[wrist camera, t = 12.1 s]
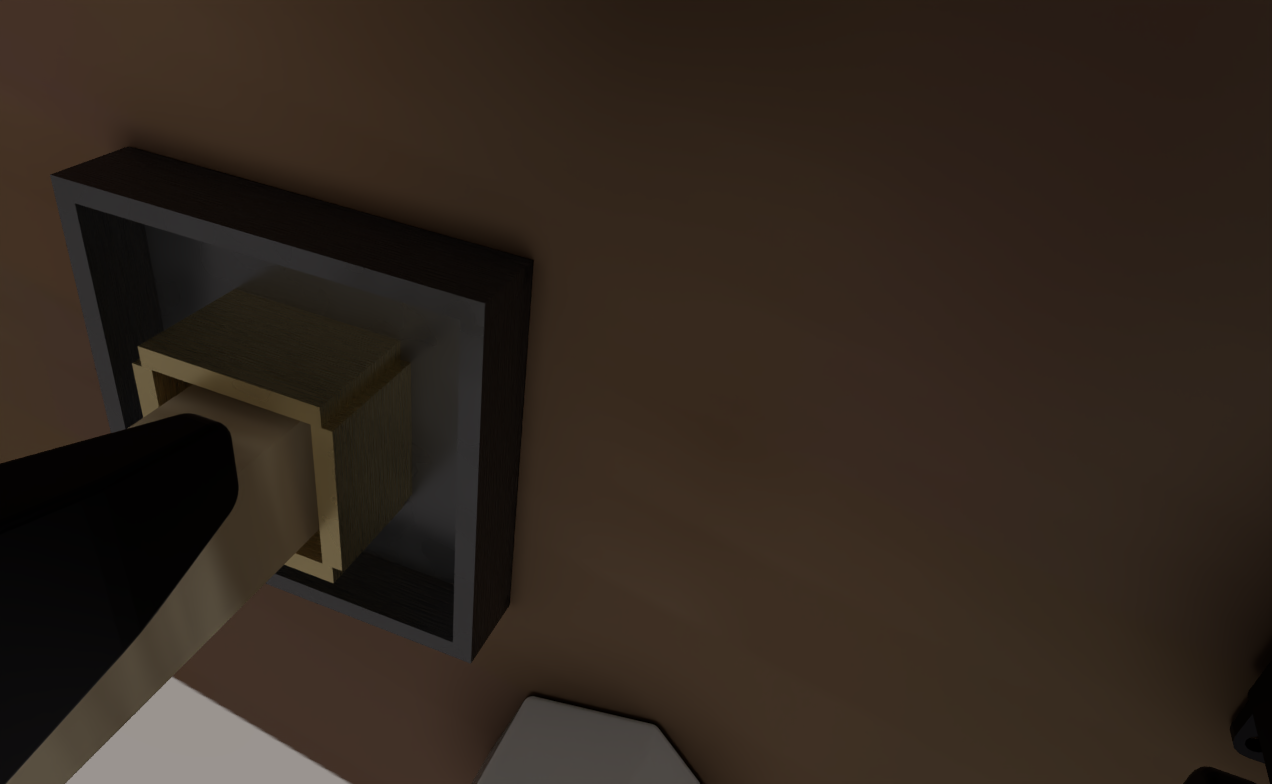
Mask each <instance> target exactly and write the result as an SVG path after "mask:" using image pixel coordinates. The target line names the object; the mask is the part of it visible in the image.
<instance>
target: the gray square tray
mask: <svg viewBox="0 0 1272 784" xmlns="http://www.w3.org/2000/svg"><path fill="white" fill-rule="evenodd" d="M50 176H51V181H52V185H53V189H54V193H55V197H56V202H57V206H58V210H59V214H60V219H61V223H62V227H63V231H64V236H65V240H66V244H67V248H68V252H69V257H70V261H71V265H72V269H73V274H74V278H75V282H76V286H77V290H78V295H79V299H80V303H81V307H82V312H83V316H84V320H85V324H86V329H87V333H88V337H89V341H90V345H91V350H92V354H93V358H94V362H95V367H96V371H97V375H98V379H99V384H100V388H101V392H102V396H103V400H104V405H105V409H106V413H107V417H108V422H109V426H110V430H111V433H113V432H117V431H121V430H124V429H127V428H129V427H130V426H132V425H133V424H135V423H136V422H138V421H139V420H141V419H142V418H144V417H145V416H147V415H148V414H149V413H151V412H152V411H154V410H155V409H157V408H158V407H160V406H161V405H163V404H164V403H166V402H167V401H169V400H170V399H172V398H173V397H175V396H176V395H178V394H179V393H181V392H182V391H184V390H185V389H187V388H188V387H190V386H191V385H192V384H194V385H197V386H200V387H203V388H206V389H209V390H211V391H214V392H217V393H220V394H223V395H226V396H229V397H232V398H235V399H238V400H241V401H244V402H246V403H249V404H252V405H255V406H258V407H261V408H264V409H267V410H270V411H273V412H276V413H279V414H281V415H284V416H287V417H290V418H293V419H296V420H299V421H302V422H305V423H308V424H310V425H311V437H312V448H313V460H314V471H315V483H316V494H317V505H318V517H319V528H320V529H319V530H318V531H317V532H316V533H315V534H314V535H313V536H312V537H311V538H310V539H309V540H308V541H307V542H306V543H305V544H304V545H303V546H302V547H301V548H300V549H299V550H298V551H297V552H296V553H295V554H294V555H293V556H292V557H291V558H290V559H289V560H288V561H287V562H286V563H285V564H284V565H283V566H282V567H281V568H280V569H279V570H278V571H277V572H276V573H275V574H274V575H273V576H272V577H271V578H270V579H269V580H268V581H267V582H266V584H269V585H271V586H274V587H276V588H279V589H281V590H284V591H286V592H289V593H292V594H294V595H297V596H299V597H302V598H304V599H307V600H310V601H312V602H315V603H317V604H320V605H322V606H325V607H327V608H330V609H333V610H335V611H338V612H340V613H343V614H345V615H348V616H351V617H353V618H356V619H358V620H361V621H363V622H366V623H368V624H371V625H374V626H376V627H379V628H381V629H384V630H386V631H389V632H392V633H394V634H397V635H399V636H402V637H404V638H407V639H409V640H412V641H415V642H417V643H420V644H422V645H425V646H427V647H430V648H433V649H435V650H438V651H440V652H443V653H445V654H448V655H450V656H453V657H456V658H458V659H461V660H463V661H466V662H468V663H472V661H473V660H474V658H475V657H476V655H477V654H478V652H479V650H480V649H481V647H482V646H483V644H484V643H485V641H486V640H487V638H488V637H489V635H490V634H491V632H492V631H493V629H494V628H495V626H496V625H497V623H498V622H499V620H500V619H501V617H502V616H503V614H504V613H505V611H506V610H507V608H508V607H509V600H510V586H511V572H512V557H513V543H514V529H515V514H516V500H517V486H518V471H519V457H520V443H521V428H522V414H523V400H524V385H525V371H526V357H527V342H528V328H529V314H530V299H531V285H532V270H533V260H529V259H526V258H522V257H519V256H515V255H512V254H508V253H505V252H501V251H497V250H494V249H490V248H487V247H483V246H480V245H476V244H473V243H469V242H465V241H462V240H458V239H455V238H451V237H448V236H444V235H441V234H437V233H434V232H430V231H426V230H423V229H419V228H416V227H412V226H409V225H405V224H402V223H398V222H394V221H391V220H387V219H384V218H380V217H377V216H373V215H370V214H366V213H363V212H359V211H355V210H352V209H348V208H345V207H341V206H338V205H334V204H331V203H327V202H323V201H320V200H316V199H313V198H309V197H306V196H302V195H299V194H295V193H291V192H288V191H284V190H281V189H277V188H274V187H270V186H267V185H263V184H260V183H256V182H252V181H249V180H245V179H242V178H238V177H235V176H231V175H228V174H224V173H220V172H217V171H213V170H210V169H206V168H203V167H199V166H196V165H192V164H188V163H185V162H181V161H178V160H174V159H171V158H167V157H164V156H160V155H157V154H153V153H149V152H146V151H142V150H139V149H135V148H132V147H125V148H123V149H120V150H117V151H114V152H112V153H109V154H106V155H103V156H101V157H98V158H95V159H92V160H90V161H87V162H84V163H81V164H78V165H76V166H73V167H70V168H67V169H65V170H62V171H59V172H56V173H54V174H51V175H50Z"/></svg>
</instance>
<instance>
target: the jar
mask: <svg viewBox="0 0 1272 784" xmlns="http://www.w3.org/2000/svg"><path fill="white" fill-rule="evenodd" d="M472 784H700V782H699V781H698V780H697V778H696V777H695V776H694V774H693V773H692V772H691V770H690V769H689V768H688V766H687V765H686V764H685V762H684V761H683V760H682V758H681V757H680V756H679V754H678V753H677V752H676V750H675V749H674V748H673V746H672V745H671V744H670V742H669V741H668V740H667V738H666V737H665V736H664V734H663V733H662V732H661V730H660V729H659V728H658V727H657V726H656V725H654V724H650V723H646V722H642V721H638V720H633V719H629V718H625V717H620V716H616V715H612V714H608V713H603V712H599V711H595V710H591V709H586V708H582V707H578V706H574V705H569V704H565V703H561V702H556V701H552V700H548V699H544V698H539V697H535V696H530V697H528V698H526V699H525V700H524V702H523V703H522V705H521V706H520V708H519V709H518V711H517V712H516V714H515V715H514V717H513V718H512V720H511V721H510V723H509V724H508V726H507V727H506V729H505V730H504V732H503V733H502V735H501V736H500V738H499V740H498V741H497V743H496V744H495V746H494V747H493V749H492V750H491V752H490V753H489V755H488V756H487V758H486V759H485V761H484V763H483V764H482V766H481V768H480V770H479V771H478V773H477V775H476V777H475V778H474V780H473V782H472Z"/></svg>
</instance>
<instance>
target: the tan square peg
mask: <svg viewBox="0 0 1272 784" xmlns="http://www.w3.org/2000/svg"><path fill="white" fill-rule="evenodd" d="M183 413H192V414H197V415H200V416H203V417H206V418H208V419H211V420H214V421H217V422H220V423H222V424H223V425H225V426H226V427H227V428H228V430H229V431H230V433H231V437H232V442H233V449H234V456H235V462H236V469H237V476H238V482H239V493H238V498H237V501H236V504H235V506H234V508H233V510H232V511H231V513H230V514H229V516H228V517H227V518H226V520H225V521H224V523H223V524H222V525H221V527H220V528H219V529H218V531H217V532H216V533H215V535H214V536H213V537H212V539H211V540H210V542H209V543H208V544H207V546H206V547H205V548H204V550H203V551H202V552H201V554H200V555H199V556H198V558H197V559H196V560H195V562H194V563H193V565H192V566H191V567H190V569H189V570H188V571H187V573H186V574H185V575H184V577H183V578H182V579H181V581H180V582H179V584H178V585H177V586H176V588H175V589H174V590H173V592H172V593H171V594H170V596H169V597H168V598H167V600H166V601H165V603H164V604H163V605H162V607H161V608H160V609H159V611H158V612H157V613H156V615H155V616H154V617H153V618H152V620H151V621H150V622H149V623H148V625H147V626H146V627H145V629H144V630H143V631H142V632H141V634H140V635H139V636H138V637H137V638H136V639H135V641H134V642H133V643H132V644H131V645H130V646H129V648H128V649H127V650H126V651H125V652H124V653H123V655H122V656H121V657H120V658H119V659H118V660H117V661H116V662H115V663H114V665H113V666H112V667H111V668H110V669H109V670H108V671H107V672H106V673H105V675H104V676H103V677H102V678H101V679H100V680H99V681H98V682H97V683H96V685H95V686H94V687H93V688H92V689H91V690H90V691H89V692H88V693H87V695H86V696H85V697H84V698H83V699H82V700H81V701H80V702H79V703H78V705H77V706H76V707H75V708H74V709H73V710H72V711H71V712H70V713H69V715H68V716H67V717H66V718H65V719H64V720H63V721H62V722H61V723H60V724H59V726H58V727H57V728H56V729H55V730H54V731H53V732H52V733H51V734H50V736H49V737H48V738H47V739H46V740H45V741H44V742H43V743H42V744H41V746H40V747H39V748H38V749H37V750H36V751H35V752H34V753H33V754H32V756H31V757H30V758H29V759H28V760H27V761H26V762H25V763H24V764H23V766H22V767H21V768H20V769H19V770H18V771H17V772H16V773H15V774H14V776H13V777H12V778H11V779H10V780H9V781H8V782H7V783H6V784H65V783H66V782H67V781H68V780H69V779H70V778H71V777H72V776H73V775H74V774H75V773H76V772H77V771H78V770H79V769H80V768H81V767H82V766H83V765H84V764H85V763H86V762H87V761H88V760H89V759H90V758H91V757H92V756H93V755H94V754H95V753H96V752H97V751H98V750H99V749H100V748H101V747H102V746H103V745H104V744H105V743H106V742H107V741H108V740H109V739H110V738H111V737H112V736H113V735H114V734H115V733H116V732H117V731H118V730H119V729H120V728H121V727H122V726H123V725H124V724H125V723H126V722H127V721H128V720H129V719H130V718H131V717H132V716H133V715H134V714H135V713H136V712H137V711H138V710H139V709H140V708H141V707H142V706H143V705H144V704H145V703H146V702H147V701H148V700H149V699H150V698H151V697H152V696H153V695H154V694H155V693H156V692H157V691H158V690H159V689H160V688H161V687H162V686H163V685H164V684H165V683H166V682H167V681H168V680H169V679H170V678H171V677H172V676H173V675H174V674H175V673H176V672H177V671H178V670H179V669H180V668H181V667H182V666H183V665H184V664H185V663H186V662H187V661H188V660H189V659H190V658H191V657H192V656H193V655H194V654H195V653H196V652H197V651H198V650H199V649H200V648H201V647H202V646H203V645H204V644H205V643H206V642H207V641H208V640H209V639H210V638H211V637H212V636H213V635H214V634H215V633H216V632H217V631H218V630H219V629H220V628H221V627H222V626H223V625H224V624H225V623H226V622H227V621H228V620H229V619H230V618H231V617H232V616H233V615H234V614H235V613H236V612H237V611H238V610H239V609H240V608H241V607H242V606H243V605H244V604H245V603H246V602H247V601H248V600H249V599H250V598H251V597H252V596H253V595H254V594H255V593H256V592H257V591H258V590H259V589H260V588H261V587H262V586H263V585H264V584H265V583H266V582H267V581H268V580H269V579H270V578H271V577H272V576H273V575H274V574H275V573H276V572H277V571H278V570H279V569H280V568H281V567H282V566H283V565H284V564H285V563H286V562H287V561H288V560H289V559H290V558H291V557H292V556H293V555H294V554H295V553H296V552H297V551H298V550H299V549H300V548H301V547H302V546H303V545H304V544H305V543H306V542H307V541H308V540H309V539H310V538H311V537H312V536H313V535H314V534H315V533H316V532H317V531H318V530H319V529H320V528H319V517H318V505H317V494H316V483H315V471H314V460H313V448H312V437H311V425H310V424H308V423H305V422H302V421H299V420H296V419H293V418H290V417H287V416H284V415H281V414H279V413H276V412H273V411H270V410H267V409H264V408H261V407H258V406H255V405H252V404H249V403H246V402H244V401H241V400H238V399H235V398H232V397H229V396H226V395H223V394H220V393H217V392H214V391H211V390H209V389H206V388H203V387H200V386H197V385H194V384H192V385H191V386H190V387H188V388H187V389H185V390H184V391H182V392H181V393H179V394H178V395H176V396H175V397H173V398H172V399H170V400H169V401H167V402H166V403H164V404H163V405H161V406H160V407H158V408H157V409H155V410H154V411H152V412H151V413H149V414H148V415H147V416H145V417H144V418H142V419H141V420H139V421H138V422H136V423H135V424H133V425H132V426H130V427H129V428H132V427H135V426H139V425H142V424H146V423H150V422H153V421H157V420H161V419H164V418H168V417H171V416H175V415H179V414H183ZM127 429H128V428H127Z"/></svg>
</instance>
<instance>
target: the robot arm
mask: <svg viewBox="0 0 1272 784" xmlns="http://www.w3.org/2000/svg"><path fill="white" fill-rule="evenodd" d="M238 493H239V482H238V476H237V469H236V462H235V456H234V449H233V442H232V437H231V433H230V431H229V430H228V428H227V427H226V426H225V425H223V424H222V423H220V422H217V421H214V420H211V419H208V418H206V417H203V416H200V415H197V414H192V413H183V414H179V415H175V416H171V417H168V418H164V419H161V420H157V421H153V422H150V423H146V424H142V425H139V426H135V427H132V428H128V429H124V430H121V431H117V432H113V433H110V434H106V435H102V436H99V437H95V438H92V439H88V440H84V441H81V442H77V443H73V444H70V445H66V446H63V447H59V448H55V449H52V450H48V451H44V452H41V453H37V454H34V455H30V456H26V457H23V458H19V459H15V460H12V461H8V462H4V463H1V464H0V784H6V783H7V782H8V781H9V780H10V779H11V778H12V777H13V776H14V774H15V773H16V772H17V771H18V770H19V769H20V768H21V767H22V766H23V764H24V763H25V762H26V761H27V760H28V759H29V758H30V757H31V756H32V754H33V753H34V752H35V751H36V750H37V749H38V748H39V747H40V746H41V744H42V743H43V742H44V741H45V740H46V739H47V738H48V737H49V736H50V734H51V733H52V732H53V731H54V730H55V729H56V728H57V727H58V726H59V724H60V723H61V722H62V721H63V720H64V719H65V718H66V717H67V716H68V715H69V713H70V712H71V711H72V710H73V709H74V708H75V707H76V706H77V705H78V703H79V702H80V701H81V700H82V699H83V698H84V697H85V696H86V695H87V693H88V692H89V691H90V690H91V689H92V688H93V687H94V686H95V685H96V683H97V682H98V681H99V680H100V679H101V678H102V677H103V676H104V675H105V673H106V672H107V671H108V670H109V669H110V668H111V667H112V666H113V665H114V663H115V662H116V661H117V660H118V659H119V658H120V657H121V656H122V655H123V653H124V652H125V651H126V650H127V649H128V648H129V646H130V645H131V644H132V643H133V642H134V641H135V639H136V638H137V637H138V636H139V635H140V634H141V632H142V631H143V630H144V629H145V627H146V626H147V625H148V623H149V622H150V621H151V620H152V618H153V617H154V616H155V615H156V613H157V612H158V611H159V609H160V608H161V607H162V605H163V604H164V603H165V601H166V600H167V598H168V597H169V596H170V594H171V593H172V592H173V590H174V589H175V588H176V586H177V585H178V584H179V582H180V581H181V579H182V578H183V577H184V575H185V574H186V573H187V571H188V570H189V569H190V567H191V566H192V565H193V563H194V562H195V560H196V559H197V558H198V556H199V555H200V554H201V552H202V551H203V550H204V548H205V547H206V546H207V544H208V543H209V542H210V540H211V539H212V537H213V536H214V535H215V533H216V532H217V531H218V529H219V528H220V527H221V525H222V524H223V523H224V521H225V520H226V518H227V517H228V516H229V514H230V513H231V511H232V510H233V508H234V506H235V504H236V501H237V498H238ZM1248 698H1249V702H1248V703H1247V704H1246V706H1245V707H1244V708H1243V709H1242V711H1241V712H1240V713H1239V715H1238V716H1237V717H1236V719H1235V720H1234V721H1233V722H1232V724H1231V727H1230V732H1231V737H1232V741H1233V745H1234V748H1235V749H1236V750H1237V751H1238V752H1239V753H1240V754H1242V755H1244V756H1246V757H1248V758H1250V759H1253V760H1256V761H1259V762H1262V763H1265V765H1266V769H1267V773H1268V777H1269V781H1270V784H1272V661H1271V663H1270V664H1269V665H1268V666H1267V668H1266V669H1265V670H1264V672H1263V673H1262V674H1261V676H1260V677H1259V678H1258V680H1257V681H1256V682H1255V684H1254V685H1253V686H1252V688H1251V689H1250V690H1249V692H1248ZM1256 736H1257V737H1259V738H1258V739H1254V738H1250V737H1256ZM1183 784H1256V783H1254V782H1252V781H1250V780H1247V779H1244V778H1241V777H1238V776H1235V775H1232V774H1230V773H1227V772H1224V771H1221V770H1218V769H1215V768H1212V767H1205V766H1204V767H1200V768H1198V769H1196V770H1194V771H1193V772H1192V773H1191V774H1190V775H1189V777H1188V778H1187V779H1186V781H1185V782H1184V783H1183Z"/></svg>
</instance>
